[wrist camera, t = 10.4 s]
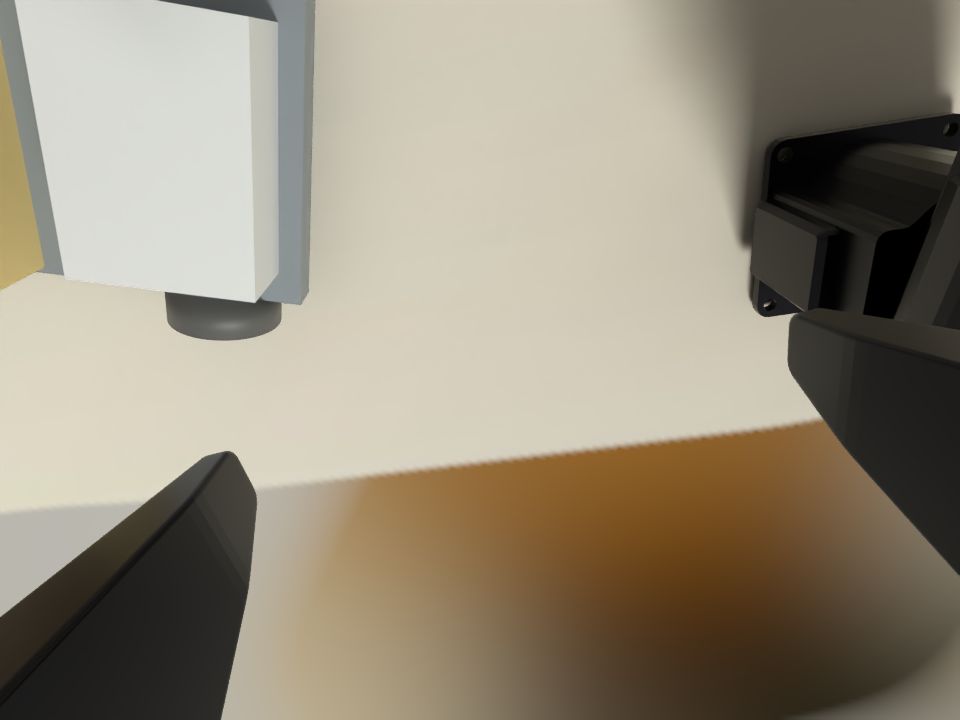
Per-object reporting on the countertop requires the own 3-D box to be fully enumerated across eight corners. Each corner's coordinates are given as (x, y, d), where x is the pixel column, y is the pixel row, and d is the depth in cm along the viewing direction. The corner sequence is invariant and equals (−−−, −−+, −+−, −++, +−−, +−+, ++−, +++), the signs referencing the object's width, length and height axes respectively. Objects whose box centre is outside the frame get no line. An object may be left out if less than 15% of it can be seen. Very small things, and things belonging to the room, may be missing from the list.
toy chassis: (327, -56, 17) (280, -98, 12) (316, 307, 22) (281, 373, 17) (-320, -181, 15) (-665, -288, 10) (-166, 247, 20) (-348, 303, 15)
